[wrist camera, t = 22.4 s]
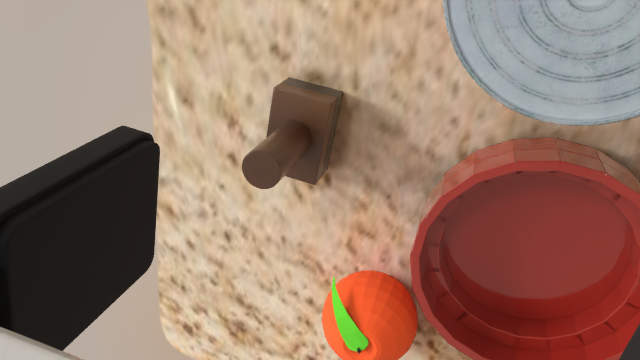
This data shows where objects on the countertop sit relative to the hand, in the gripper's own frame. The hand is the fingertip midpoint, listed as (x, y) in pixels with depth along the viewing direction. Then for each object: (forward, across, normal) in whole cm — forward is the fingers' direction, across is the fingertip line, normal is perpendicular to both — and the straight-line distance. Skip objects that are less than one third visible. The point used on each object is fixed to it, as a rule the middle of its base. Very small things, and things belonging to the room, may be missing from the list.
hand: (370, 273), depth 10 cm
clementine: (+28, +1, +20) cm, 34 cm away
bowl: (+28, -8, +12) cm, 31 cm away
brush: (+28, +9, +9) cm, 30 cm away
